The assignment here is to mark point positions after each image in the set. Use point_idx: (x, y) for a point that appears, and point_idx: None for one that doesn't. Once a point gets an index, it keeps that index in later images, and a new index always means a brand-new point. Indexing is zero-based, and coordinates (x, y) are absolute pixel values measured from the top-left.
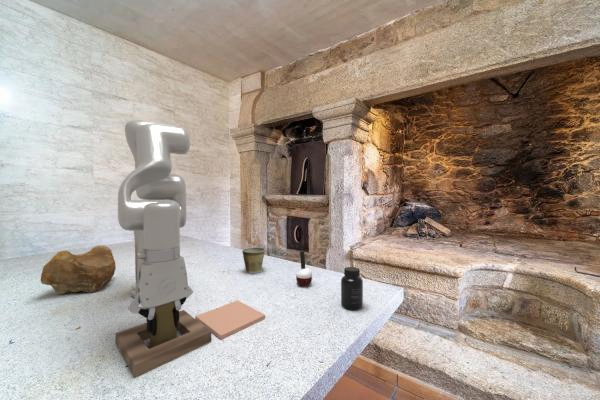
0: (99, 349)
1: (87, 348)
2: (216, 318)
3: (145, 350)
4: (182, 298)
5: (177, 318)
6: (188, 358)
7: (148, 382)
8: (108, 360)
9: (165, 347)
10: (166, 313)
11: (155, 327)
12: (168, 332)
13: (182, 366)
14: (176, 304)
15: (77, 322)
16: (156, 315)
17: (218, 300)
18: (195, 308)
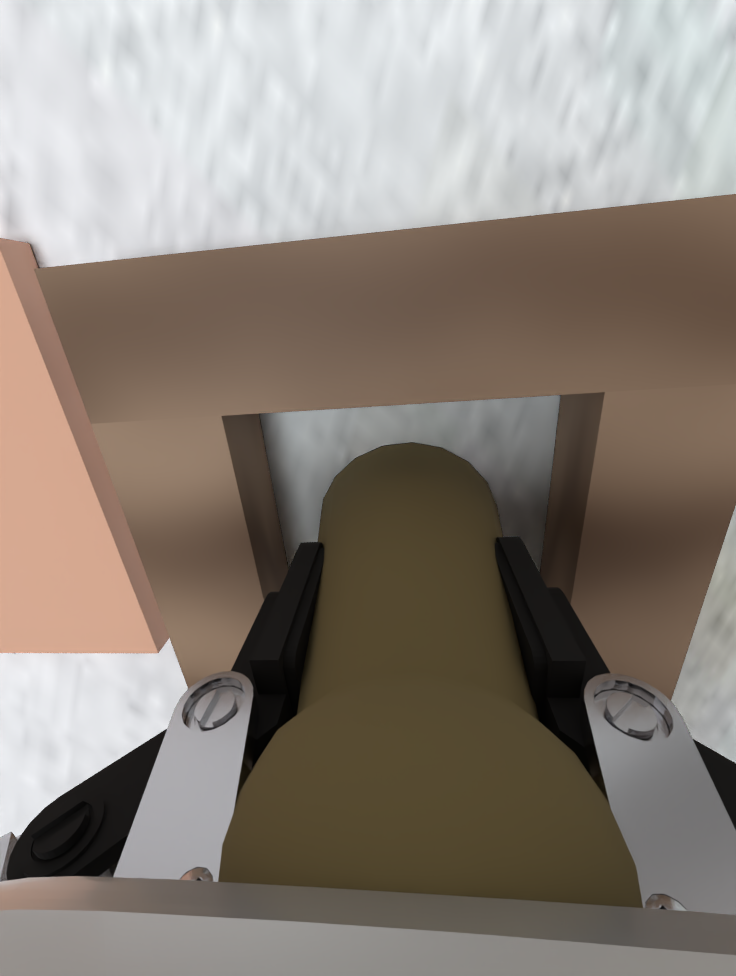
0: (698, 689)
1: (730, 732)
2: (17, 531)
3: (633, 391)
4: (71, 868)
5: (281, 590)
6: (327, 159)
7: (704, 35)
8: (726, 560)
9: (488, 302)
10: (409, 671)
11: (521, 578)
12: (396, 502)
13: (403, 60)
14: (218, 775)
15: None
16: (530, 712)
17: (8, 731)
18: (151, 735)
